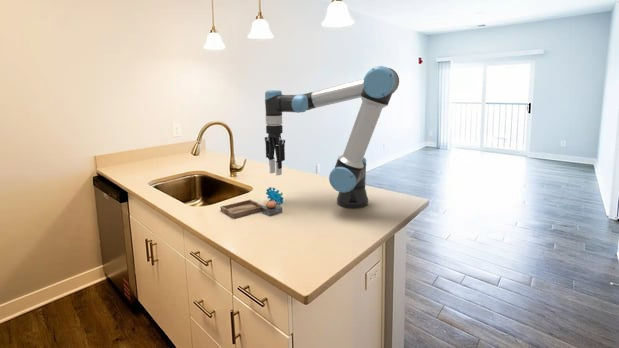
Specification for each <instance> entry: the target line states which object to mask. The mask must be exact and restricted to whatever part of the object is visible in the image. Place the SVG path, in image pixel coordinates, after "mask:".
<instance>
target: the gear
mask: <svg viewBox="0 0 619 348" xmlns="http://www.w3.org/2000/svg"><path fill="white" fill-rule="evenodd" d="M275 190H276V191H275ZM279 192H280V190H279V189H276V188H275V187H271V186H270V187H268V188H267V189H266V193H265V194H266V195H267V196H266V197H267V199H269V200H268V201H275V202H276V205H278V206H280V205H281V204H283V203H284V197H283V195H284V193H283V192H280V193H279Z"/></svg>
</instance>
